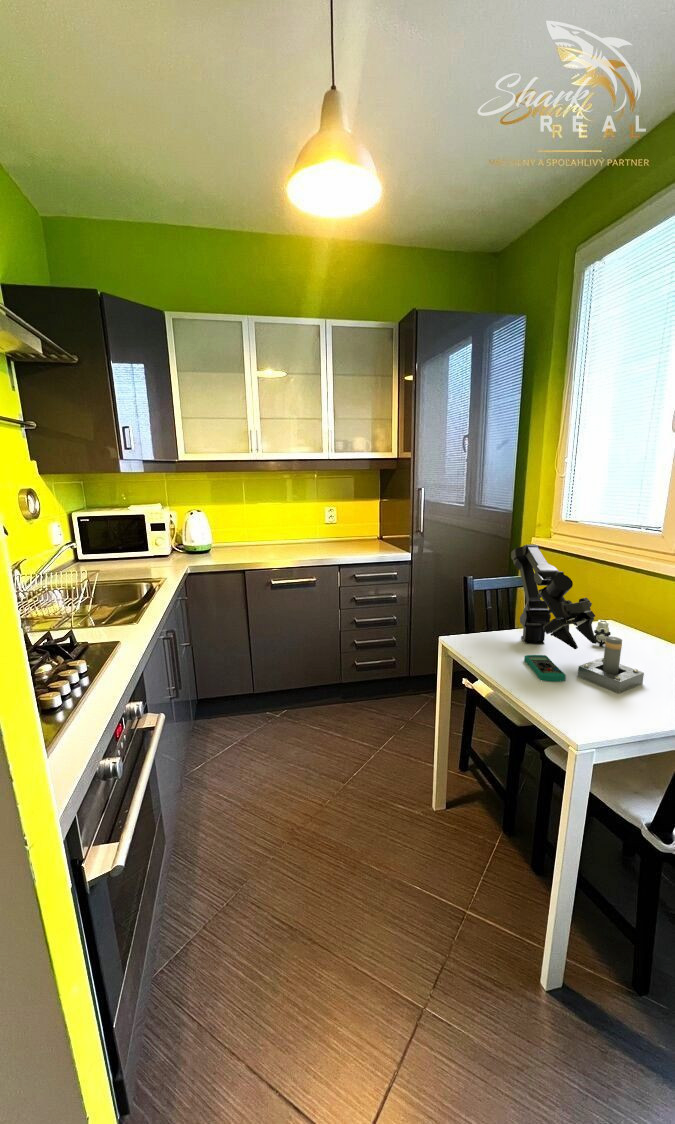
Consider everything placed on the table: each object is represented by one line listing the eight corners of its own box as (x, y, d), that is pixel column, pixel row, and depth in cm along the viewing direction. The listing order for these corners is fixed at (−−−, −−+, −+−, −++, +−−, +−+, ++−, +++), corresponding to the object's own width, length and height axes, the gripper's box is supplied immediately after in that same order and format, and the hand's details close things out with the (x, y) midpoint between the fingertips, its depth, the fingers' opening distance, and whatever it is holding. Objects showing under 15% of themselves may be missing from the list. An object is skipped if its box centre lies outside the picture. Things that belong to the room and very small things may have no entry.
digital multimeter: (541, 682, 126) (541, 673, 125) (523, 661, 140) (524, 653, 140) (566, 683, 125) (567, 674, 124) (546, 662, 140) (546, 654, 139)
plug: (605, 682, 124) (609, 641, 122) (598, 676, 128) (603, 636, 126) (620, 683, 123) (625, 641, 121) (613, 677, 127) (618, 636, 125)
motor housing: (577, 676, 128) (578, 664, 127) (601, 668, 134) (602, 656, 133) (618, 693, 118) (620, 680, 117) (642, 683, 123) (644, 670, 122)
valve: (591, 634, 162) (590, 645, 153) (593, 618, 161) (591, 627, 151) (611, 638, 159) (611, 648, 149) (613, 621, 158) (613, 631, 148)
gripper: (555, 594, 128) (587, 640, 121) (592, 586, 137) (624, 628, 129) (531, 611, 137) (559, 655, 129) (567, 603, 145) (596, 644, 138)
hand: (585, 645), depth 131 cm, fingers open, 9 cm apart
